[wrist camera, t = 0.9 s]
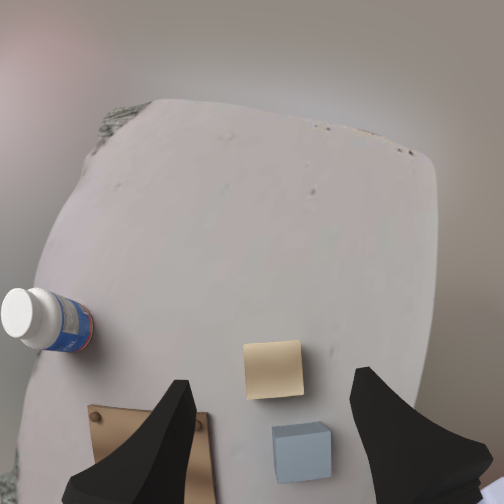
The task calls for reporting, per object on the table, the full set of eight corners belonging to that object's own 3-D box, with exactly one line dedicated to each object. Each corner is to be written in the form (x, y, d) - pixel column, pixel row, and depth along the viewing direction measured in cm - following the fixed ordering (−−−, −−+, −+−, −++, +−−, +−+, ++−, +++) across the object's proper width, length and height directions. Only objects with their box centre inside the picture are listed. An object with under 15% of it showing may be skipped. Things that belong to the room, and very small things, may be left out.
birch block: (296, 388, 26) (304, 394, 22) (247, 392, 26) (246, 399, 22) (293, 341, 27) (300, 339, 23) (244, 345, 27) (243, 344, 23)
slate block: (321, 462, 23) (331, 476, 19) (274, 468, 23) (277, 483, 19) (319, 421, 25) (330, 430, 21) (271, 426, 24) (275, 437, 21)
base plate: (218, 516, 21) (216, 523, 19) (108, 502, 21) (101, 508, 19) (207, 412, 25) (204, 415, 23) (92, 404, 24) (84, 406, 23)
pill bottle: (57, 355, 26) (-4, 348, 17) (52, 306, 28) (-6, 285, 18) (98, 349, 26) (40, 343, 17) (92, 298, 28) (36, 273, 19)
